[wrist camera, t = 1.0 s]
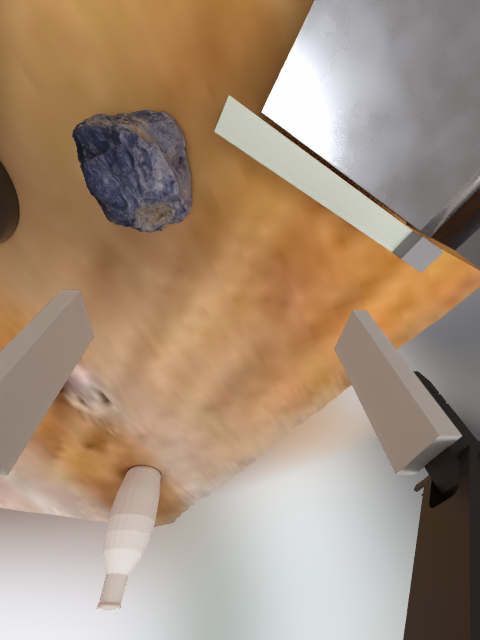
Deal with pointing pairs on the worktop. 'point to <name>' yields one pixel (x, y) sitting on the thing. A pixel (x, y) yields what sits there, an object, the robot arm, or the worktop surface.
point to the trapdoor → (393, 107)
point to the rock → (136, 168)
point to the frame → (321, 184)
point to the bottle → (128, 531)
